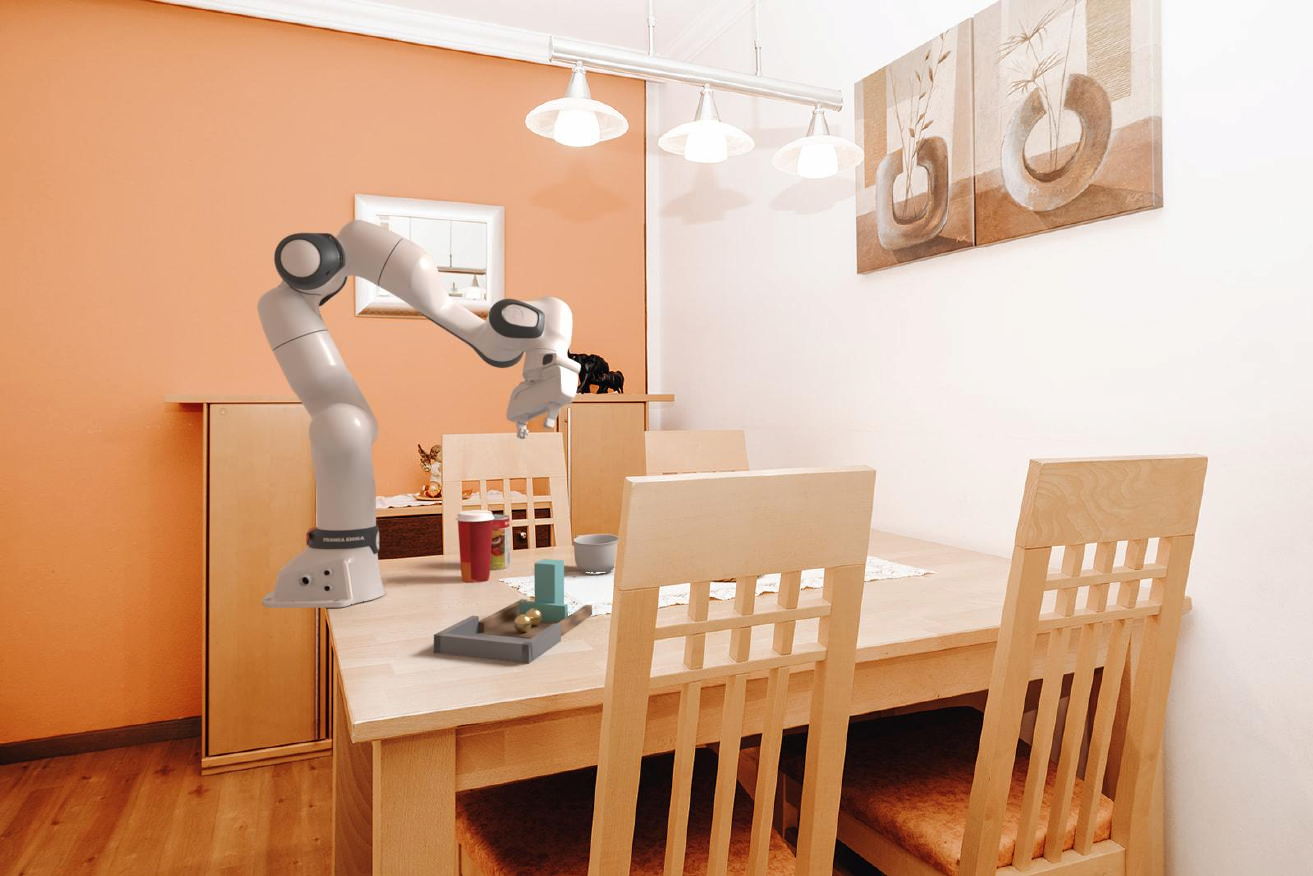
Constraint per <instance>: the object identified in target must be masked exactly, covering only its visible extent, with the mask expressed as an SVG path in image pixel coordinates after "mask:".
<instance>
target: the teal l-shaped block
mask: <svg viewBox="0 0 1313 876" xmlns="http://www.w3.org/2000/svg"><path fill="white" fill-rule="evenodd" d="M533 569H534V571H533V572H534V573H533V574H534V601H533V600H527V601H523V600H522V601H520V602H519V615H522V614H526V612H527V611H528V610H530V609H532V608H535V609H538V610H539V611H540V612H541V614H542V620H541V621H551V622H560V621H562V620H563V619H565V618H566V617H568V613H569V612H568V610H569V609H568V607H569V606H568V604H567V603H565V560H562V559H561V560H560V559H548V558H547V559H546V558H543V559H541V560H539V561H536V562H534V568H533Z"/></svg>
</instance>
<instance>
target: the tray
mask: <svg viewBox="0 0 1313 876" xmlns="http://www.w3.org/2000/svg"><path fill="white" fill-rule="evenodd" d="M479 621H480V620H479V615H471V616H468V617H467V618H465V619H463V620H461V621H458V622H457V623H454V624H453V625H451V626H448V627H447V628H444V629H443V630H441V631H438V632H437V633H435V634H433V653H434V654H442V655H449V656H450V655H451V656H459V657H466V658H467V657H468V658H475V659H477V658H478V659H485V660H494V661H503V662H510V663H521V664H528V665H529V664H530V663H533V662H534V661H535V660H536V659H538V658H539V657H540V656H542V655H544V654H545V653H547V652H548V651H549V650H551V649H552V648H553V647H555V646H556V645H557V644H560V643H561V641H562V636H561V624H555V623H554V624H552V625H551V626H549V627H548V628H546V629H545V630H543V631H542V632H540V633H538V634H537V635H535V636H534V637H532V638H530V639H529V638H528V639H527V637H526V638H524V637H521V638H520V637H518V636H515V637H510V636H509V635H507V636H506V635H505V636H503V635H499V634H496V635H494V634H493V635H492V634H490V635H487V633H486V634H484V633H479ZM498 635H499V636H498ZM517 637H518V638H517Z"/></svg>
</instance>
